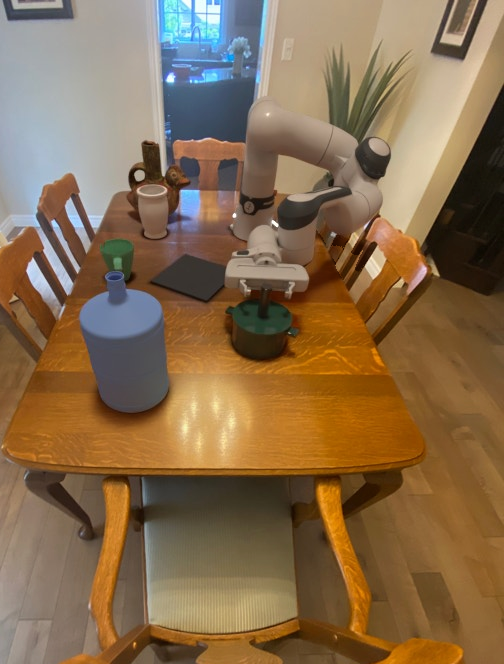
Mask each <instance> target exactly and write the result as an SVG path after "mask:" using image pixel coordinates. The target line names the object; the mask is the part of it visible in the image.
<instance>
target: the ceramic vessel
mask: <svg viewBox="0 0 504 664" xmlns="http://www.w3.org/2000/svg"><path fill="white" fill-rule="evenodd" d="M140 145H141V156H142V161H139V162H136V163H134V164H133V165H132V166H131V168H130V169H129V171H128V176H127V180H128V181H127V182H128V186H129V189H130V191H129V192H127V194H126V195H125V198H126V200H127V201H128V203H129V204H130V206H131V207H132V208H133V209H134V210H135V211H136V212H138V213H139V208H138V199H139V196H138V194H137V189H138V188H139V187H141V186H145V185H160V186H164V187H165V188H167V195H166V197H167V201H168V218H169V217H170V216H172V215H173V214H174V213H175V212H176V211H177V209H178V207H179V204H180V191H181V189H184V188H187V187H189V186H190V185H191V182H192V181H191V179H189V178H187V176H186V173H184V172H183V171H184V170H183V169H182V168H181V166H180V165H177V164H170V165H169V166H168V168H167V169H166V171H165V174H164V175H163V172H162V162H161V150H160V149H161V148H160V144H159V142H157V143H156V142H155V141H153V140H151V141H150V140H147V139H145V140H143V141H141V144H140ZM138 171H142V172H143V173H144V178H143V179H141V180H137V179H136V177H135V173H136V172H138Z"/></svg>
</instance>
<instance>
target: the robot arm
mask: <svg viewBox="0 0 504 664" xmlns="http://www.w3.org/2000/svg"><path fill="white" fill-rule="evenodd" d="M245 132H246V133H245V145H244V158H243V171H242V181H241V189H240V191H239V199H238V203H237V205H236V206H235V209H234V213H233V214H232V218H233V223H231V224H230V225H229V229H230V230H231V231H232V232H233V235H234V236H235V237H236V238H238V239H239V240H243V241H247V242H246V249H243V250H236V251H233V252H232V253H231V258H230V260H228V262H227V264H226V272H225V285H224V287H225V288H227V289H229V290H239V291H240V292H241V293H242V294H243V297H244V298H250V297H251V293H252V292H251V291H261V286H262V284H264V283H269V284H271V285H272V286H273V289H272V292H274V291H275V292H283V299H284V300H286V299H287V300H291V298H292V294H293V293H304V292H305V291H307V289H308V286H309V283H310V277H309V274H308V271H307V269H306V267H307V266H308V265H309V264H310V263H311V262H312V261H313V260H314V254H315V246H316V235H317V224H318V218H319V214H320V212H321V211H322V210H323V214H324V216H323V217H324V222H325V224H326V226H327V228H328V229H329V231H331V232H332V233H334V234H335V235H338V236H349V235H352V234H354V233H356V232H357V231H359V230H361V229H362V228H363V227H364V226H366V225H367V224H368V223H369V222H371V221H372V220H373V219H374V218H375V217H376V215H378V213H379V212H380V210H381V209H382V206H383V203H384V196H383V192H382V191H381V190H382V189H380V188H379V186H378V183H379V182H380V180H381V178H384V177H385V176H386V173H387V169H388V166H389V164H390V162H391V159H392V151H391V147H390V146H389V144H388V143H387V142H386V141H385V140H384V139H382V138H380V137H378V136H368V137H366V138H364V139H363V140H362V141H361V142H360V143H359V142H358V140H357V138H356V137H354V136H353V135H352V134H350V133H348V132H347V131H345V129H344V130H343V129H342V128H340V127H338V126H337V125H333V124H331V123H329V122H326V121H324V120H321V119H319V118H316V117H315V116H311V115H308V114H302V113H298V112H295V111H291V110H288V109H285V108H283V107H282V105H281V103H280V101H279V100H278V99H277V98H275V97H273V96H271V95H263V96H260V97H258V98H257V99H255V101H254V102H253V103H252V105H251V106H250V108H249V110H248V112H247V120H246V131H245ZM279 156H283V157H288V158H293V159H296V160H298V161H301V162H304V163H306V164H309V165H311V166H314V167H318V168H321V169H324V170H326V171H328V172H329V173H330V174H332V177H333V178H331V179H329V180H328V181H327V186H326V187H322V188H319V189H315V190H311V191H306V192H298V193H292V194H289V195H287V196H285V198H283V199H282V200H281V202H280V203H279V205H278V206H277V205H276V203H275V201H276V196H278V189H275V186H276V181H277V180H276V178H277V174H278V165H279Z"/></svg>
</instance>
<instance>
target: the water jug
mask: <svg viewBox="0 0 504 664" xmlns="http://www.w3.org/2000/svg"><path fill="white" fill-rule="evenodd" d="M104 279H105V281H106V288H107V290H108V291H107V290H106V291H104V292H101V293H99V294H97V295H95V296H93V297H92V298H90V299H88V300H87V301H86V302H85V303H86V304H85V303H84V304H85V305H84V306H83V305H82V307H81V309H80V311H79V315H78V320H79V326H80V331H81V336H82V338H83V340H84V342H85V346H86V350H87V353H88V357H89V363H90V366H91V369H92V371H93V373H94V376H95V380H96V383H97V389H98V393H99V396H100V398H101V400H102V401H103V403H104V404H105V405H106V406H107V407H109V408H111V409H112V410H115V411H117V412H121V413H127V414H129V413H130V414H134V413H141V412H145V411H148V410H150V409H153V408H154V407H156V406H157V405H159V404H160V403H161V402H162V401H163V400H164V399H165V398H166V396H167V394H168V393H169V392H168V391H169V388H170V378H169V374H168V354H167V353H168V352H167V348H166V336H165V335H166V334H165V326H166V325H165V315H164V312H163V307H162V304H161V303H160V302H159V300H158V299H157V298H156V297H155V296H153V295H152V294H150V293H148V292H145V291H142V290H139V289H132V288H127V284H126V281H124V274H123V273H122V272H118V271H113V272H110V271H108V272H107V273H106V274H105V276H104Z"/></svg>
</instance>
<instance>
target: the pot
mask: <svg viewBox="0 0 504 664" xmlns="http://www.w3.org/2000/svg"><path fill="white" fill-rule="evenodd" d="M234 308H235V306H232V305H229V306H228V307H227V308H226V309H225V310H224V314H226V315H229V316H231V317H232V313H233V310H234ZM300 331H301V330H300V329H298V328H295V327H292V326H290V327H289V329H288V330H286V331H285V332H283V333H281V334H278V335H274V336H257V335H253V334H250V333H247V332H245V331H243V330H241V329H240V328H239V327H238V326H237V325H236V324H235V323H234V321H233V323H232V333H231V343H232V346H233V348H234V349H235V350H236V351H237V352H238V353H240V354H241V355H242V356H245V357H247V358H251V359H258V360H265V359H271V358H274V357H276V356H278V355H279V354H281V352H282V351H283V350H284V348H285V346H286V341H287V337H290V338H292V339H296V338H297V337H298V335H299V334H300Z"/></svg>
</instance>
